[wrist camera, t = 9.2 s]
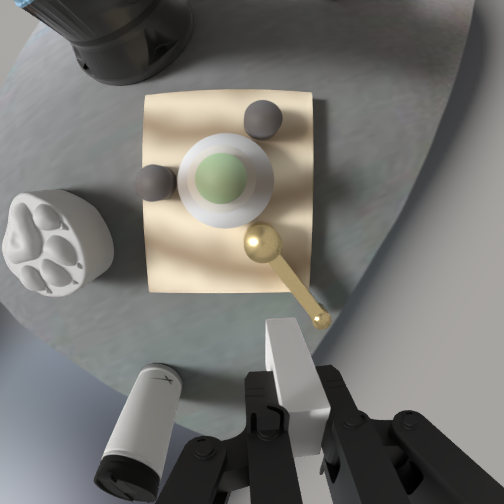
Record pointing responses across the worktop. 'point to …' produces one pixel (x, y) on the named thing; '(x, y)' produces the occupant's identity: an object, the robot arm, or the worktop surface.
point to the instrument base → (225, 247)
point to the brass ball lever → (282, 268)
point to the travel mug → (141, 436)
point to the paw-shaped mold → (56, 242)
